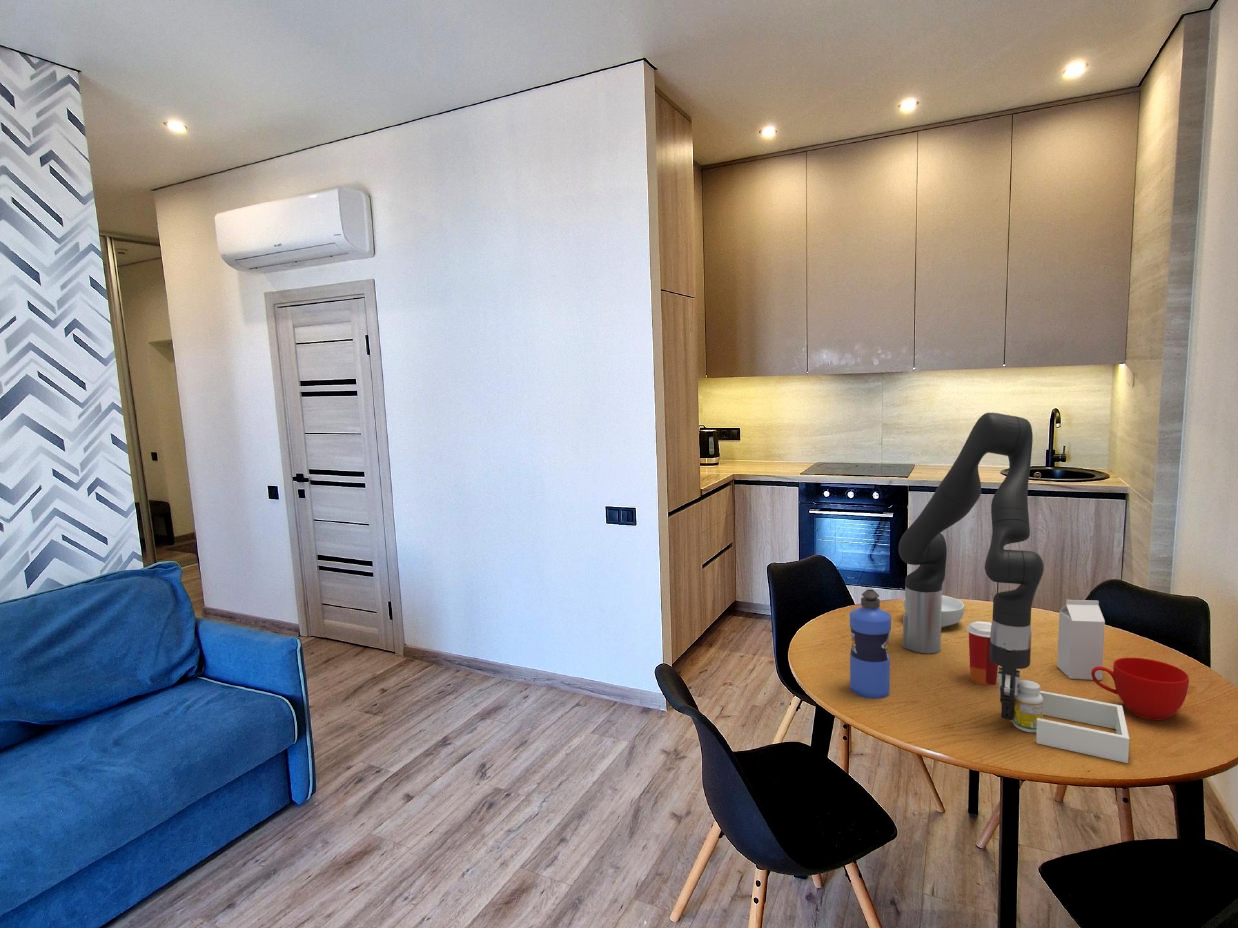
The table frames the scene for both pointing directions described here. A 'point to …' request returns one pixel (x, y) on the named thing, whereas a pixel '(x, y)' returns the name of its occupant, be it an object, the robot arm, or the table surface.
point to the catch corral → (1079, 736)
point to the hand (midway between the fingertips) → (1007, 717)
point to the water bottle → (870, 648)
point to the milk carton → (1080, 639)
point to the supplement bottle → (1027, 706)
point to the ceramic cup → (1147, 686)
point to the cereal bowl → (950, 611)
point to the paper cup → (981, 654)
